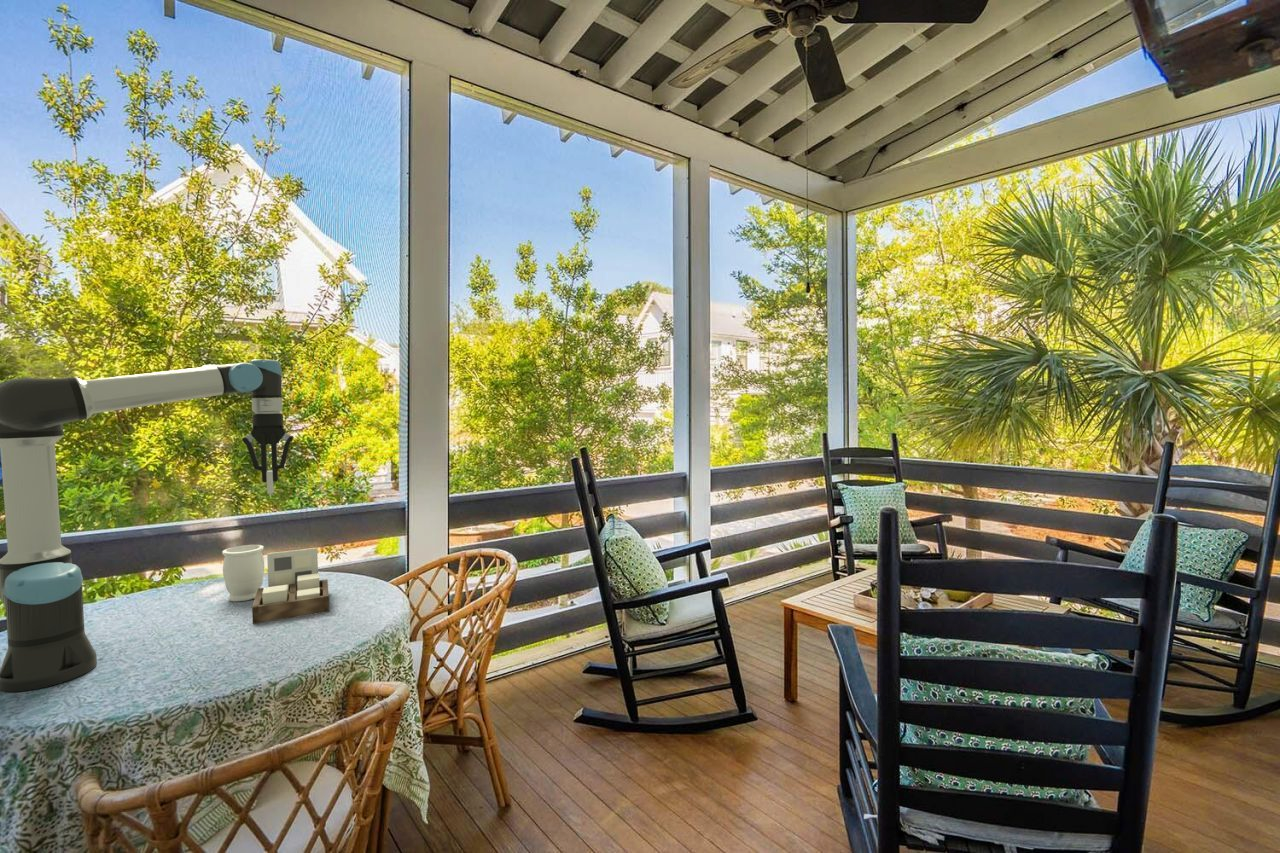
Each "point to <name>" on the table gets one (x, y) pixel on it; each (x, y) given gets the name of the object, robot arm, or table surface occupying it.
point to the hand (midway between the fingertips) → (270, 493)
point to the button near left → (275, 594)
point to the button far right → (308, 581)
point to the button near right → (308, 593)
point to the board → (290, 605)
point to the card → (291, 566)
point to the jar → (243, 571)
